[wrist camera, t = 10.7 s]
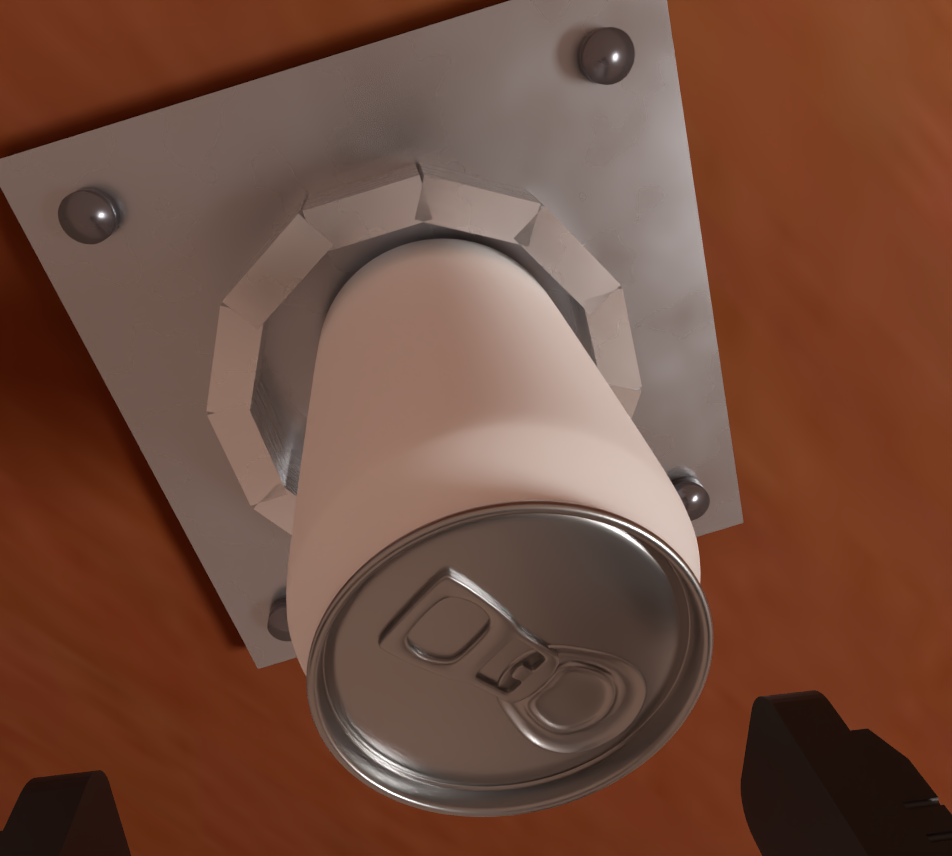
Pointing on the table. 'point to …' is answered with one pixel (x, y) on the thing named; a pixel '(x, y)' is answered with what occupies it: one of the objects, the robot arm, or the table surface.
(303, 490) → the can
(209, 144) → the duct flange
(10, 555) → the table surface
